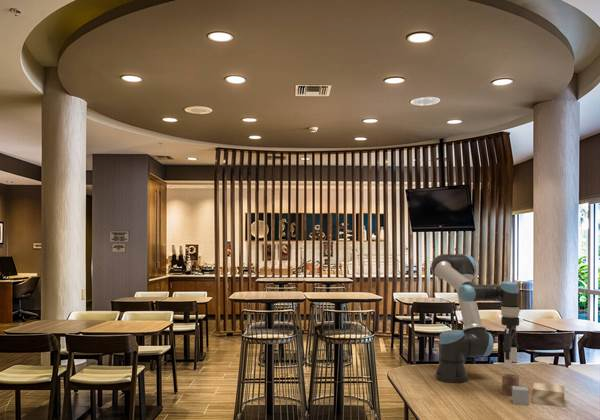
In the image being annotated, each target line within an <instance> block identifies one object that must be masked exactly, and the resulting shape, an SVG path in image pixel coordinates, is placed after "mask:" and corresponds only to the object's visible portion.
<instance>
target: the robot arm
mask: <svg viewBox="0 0 600 420" xmlns="http://www.w3.org/2000/svg"><path fill="white" fill-rule="evenodd" d="M476 263H477V262H476V260H475V259H474V257H472V256H471V255H470V254H464V253H461V254H460V253H459V254H457V253H456V254H450V253H449V254H448V253H444V254H443V253H442V254H439V255H436V256H435V257H434V258H433V259H432V262H431V265H430V268H431V272H432V274H433V275H434V276H435V277H436V278H437V279H441V280H443V281H444V282H445V283H447V284H448V285H449V286H450V287H452V288H454V289H455V290H456V295H457V299H458V303H459V310H460V314H461V318H462V322H463V329H462V330H461V329H448V330H444V331H442V332H440V333H439V339H438V344H439V346H438V347H439V349H438V351H439V353H438V354H439V356H438V357H439V359H438V360H439V362H438V365H437V369H436V371H435V379H436V380H438V381H441V382H446V383H454V384H455V383H465V382H467V381H468V380H469V379H468V373H467V370H466V367H465V364H464V362H465V359H464V358H476V357H477V358H482V357H483V358H484V357H488V356H490V355H491V354H492V352H493V349H494V345H495V344H494V343H495V342H494V338H493V334H492V333H490V332H488V331H487V329H486V327H485V326H484V325H482V320H481V316H480V312H479V311H480V310H479V308H478V302H500V305H501V306H500V309H501V310H500V312H501V313H500V315H501V321H500V322H501V325H503V326H505V328H504V339H503V348H502V351H501V352H503V353H504V355H503V357H504V359H503V360H504V368H512V363H517V362H518V356H517V355H518V353H517V351H518V348H519V347H520V346H519V343H518V336H517V327H518V326H520V318H519V316H520V312H522V311H521V309H520V287H519V283H518V282H517V281H501V284H497V283H491V284H476V283H474V282H473V280H474V278H475V275H476V273H477V264H476Z"/></svg>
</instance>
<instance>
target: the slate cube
mask: <svg viewBox="0 0 600 420" xmlns="http://www.w3.org/2000/svg"><path fill="white" fill-rule="evenodd" d="M529 391H530V390H529V389H528V387H527V386H520V385H519V386H512V396H511V401H512V404H513V405H522V406H529V405H530V403H529V401H530V400H529V399H530V398H529V396H530V395H529Z"/></svg>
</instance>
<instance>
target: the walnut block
mask: <svg viewBox="0 0 600 420" xmlns="http://www.w3.org/2000/svg"><path fill="white" fill-rule="evenodd" d="M501 383H502V384H501V388H502V389H501V395H504V396H508V397H509V396H511V397H512V386H520V384H519V383H520V376H519V375H518V374H509V373H504V374H503V375H502V376H501Z"/></svg>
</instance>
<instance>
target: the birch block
mask: <svg viewBox="0 0 600 420" xmlns="http://www.w3.org/2000/svg"><path fill="white" fill-rule="evenodd" d="M532 404H538V405H539V404H540V405H545V406H554V407H555V406H556V407H561V408H564V407H565V385H559V384H558V385H557V384H549V383H541V382H540V383H539V382H534V383H533V385H532Z"/></svg>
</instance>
